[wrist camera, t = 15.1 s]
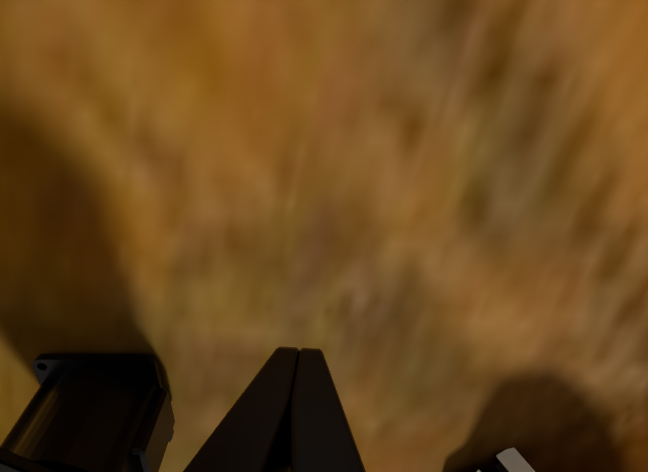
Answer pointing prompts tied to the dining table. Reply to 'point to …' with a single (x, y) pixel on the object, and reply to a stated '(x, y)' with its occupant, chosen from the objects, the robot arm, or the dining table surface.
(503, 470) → the white arched piece
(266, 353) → the dining table surface
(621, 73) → the dining table surface
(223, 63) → the dining table surface
